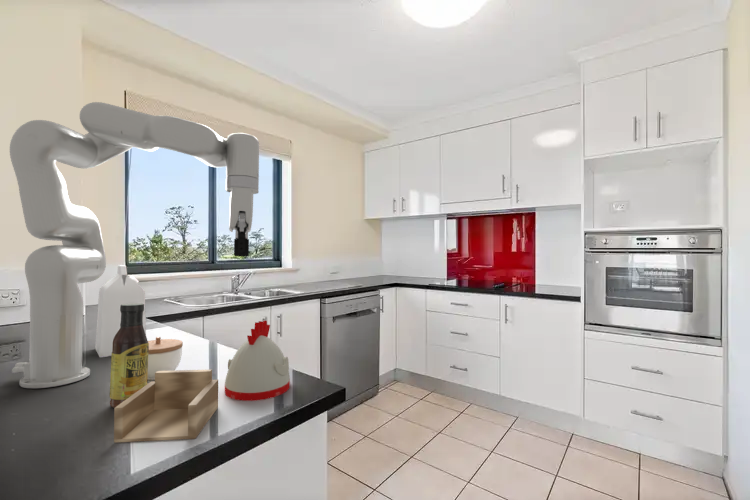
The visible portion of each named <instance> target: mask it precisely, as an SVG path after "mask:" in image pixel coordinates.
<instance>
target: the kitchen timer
mask: <svg viewBox="0 0 750 500" xmlns="http://www.w3.org/2000/svg"><path fill="white" fill-rule="evenodd" d="M270 327H271V325H270V324H268V320H262V321H258V322H254V328H250V333H251V335H247V340H245V341H244V342H243V343H242V344H241V345H240V347H239V348H238V349H237V350H236V352H235V354H234V355H233V357H232V359H230V358H229V359H228V362H227V373H226V376H225V380H224V394H225V397H228V398H229V399H233V400H235V401H236V400H237V401H244V402H245V401H246V402H247V401H251V402H252V401H263V400H267V399H272V398H275V397H278V396H280V395H283V394H285V393H286V392H287V391H288V390H289V389H290V383H291V381H290V380H291V377H290V366H289V365H290V364H289V363H290V362H289V358H288V356H285V355H284V353H283V352H282V350H281V348H280V347H279V345H277V344H276V343H275V342H274V340H272V339H271V338H269V337H268V336H269V332H270Z"/></svg>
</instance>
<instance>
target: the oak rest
mask: <svg viewBox="0 0 750 500" xmlns="http://www.w3.org/2000/svg"><path fill="white" fill-rule="evenodd" d="M218 408H219V379H213V369H183V370H181V369H178V370H177V369H175V370H173V371H157V372H156V373H155V380H154V381H152V380H151V381H150V382H147V385H146V386H144V387H143V388H141V389H140V390H139V391H137V392H136V393H134V394H133V395H132V396H130V397H129V398H128V399H126V400H125V401H123V402H122V403H121V404H119V405H118V406H116V407H115V408H114V409H113V410H114V412H113V413H114V415H113V417H114V418H113V443H116V444H117V443H132V442H133V443H134V442H152V441H153V442H155V441H171V440H172V441H173V440H175V441H176V440H196V439H197V437H198V436H199V434H200V433H201V432H202V431H203V429H204V428H205V427H206V425H207V423H208V422H209V421H210V420H211V418H212V417H213V415H214V414H215V413H216V411H217V409H218Z"/></svg>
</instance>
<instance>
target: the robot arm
mask: <svg viewBox="0 0 750 500" xmlns="http://www.w3.org/2000/svg"><path fill="white" fill-rule="evenodd" d="M79 120H80V124H81V126H82V127H83V129H84V130H85V131H87V132H88V133H86V134H82V133H80V132H79V131H76V130H74V129H71V128H69V127H67V126H64V125H62V124H60V123H56V122H54V121H50V120H43V119H34V120H30V121H27V122H24V124H22V125H20V126H19V127H18V128H17V129H16V130H15V132H14V133H13V135H12V137H11V140H10V143H9V156H10V161H11V165H12V168H13V172H14V174H15V177H16V181H17V185H18V191H19V198H20V202H21V207H22V214H23V217H24V223H25V227H26V230H27V231H28V233H29V234H30V235H31V236H32V237H33V238H36V239H39V240H45V241H56V242H57V241H61V242H62V244H57V245H56V244H53V245H46V246H42V247H39V248H37V249H35V250H33V251H32V252H31V253H30V254H29V255H28V256H27V258H26V261H25V263H24V274H25V277H26V281H27V285H28V287H27V288H28V292H29V351H28V352H29V357H28V359H29V360H28V362H27V361H25V362H23V361H21V362H16V363H15V365H14V367H13V368H12V369H11V373H12V374H21V373H22V374H23V377H21V379H20V380H19V386H20V387H21V388H24V389H46V388H53V387H59V386H64V385H69V384H72V383H75V382H79V381H82V380H83V379H86V378H87V377H90V375H91V369H90V368H89V367H86V366H83V348H84V347H83V339H84V336H83V334H84V329H83V328H84V301H83V296H82V292H81V291H80V288H79V286H78V284H85V283H92V282H93V281H96V280H98V279H99V278H100V277H102V276H103V274H104V272H105V270H106V267H107V257H106V252H105V246H104V240H103V236H102V230H101V225H100V221H99V219H98V218H97V216H96V215H95V213H94V212H93V211H92V210H90V208H87V207H86V206H84V205H80V204H75V203H72V202H71V201H70V197H69V195H68V188H67V182H66V180H65V178H64V176H63V174H62V173H61V171H60V170H59V168H58V166H57V164H56V162H58V163H60V164H65V165H68V166H71V167H74V168H77V169H90V168H95V167H98V166H100V165H102V164H104V163H106V162H108V161H110V160H112V159H113V158H116V157H118V156H120V155H122V154H123V153H126V152H128V151H129V150H132V148H135V149H139V150H143V151H147V152H155V151H156V150H158V149H165V150H170V151H173V152H178V153H181V154H184V155H188V156H192V157H194V158H195V159H197V160H199V161H201V162H202V163H204V164H205V165H206V166H209V167H212V168H224V167H225V169H226V170H225V177H226V178H225V191H226V192H227V193H230V196H229V214H228V215H229V218H228V219H229V220H228V221H229V224H228V226H229V227H228V230H229V232H231V233H234V232H233V231H235V234H234V235H235V238H234V239H233V244H234V245H233V256H234V257H249V255H250V239H249V233H250V232H251V230H252V226H253V225H252V224H253V223H252V222H253V216H254V215H253V213H254V195H257V194H259V190H260V189H259V188H260V187H259V181H260V178H259V177H260V175H259V174H260V172H259V171H260V141H259V139H258V138H257V137H256V136H255V135H252V134H249V133H244V132H235V133H234V132H233V133H230V134H228V135H227V138H225V137H223V136H221V135H219V134H218V133H217V132H216V131H214V130H213V129H212V128H211V127H209V126H207V125H204V124H202V123H198V122H196V121H193V120H188V119H184V118H180V117H176V116H172V115H153V114H148V113H145V112H140V111H136V110H135V109H134V110H133V109H130V108H125V107H123V106H119V105H114V104H111V103H105V102H102V101H100V102H99V101H95V102H94V101H93V102H89V103H87V104H84V106H83V107H82V108H80V112H79Z"/></svg>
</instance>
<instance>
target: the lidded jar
mask: <svg viewBox="0 0 750 500" xmlns="http://www.w3.org/2000/svg"><path fill="white" fill-rule="evenodd" d="M148 343H149V350H148V377H147V381H149V380H151V381H152V380H154V381H155V373H156V372H157V371H173V370H177V368H178V367H179V365H180V362H181V359H182V354H183V341H182V340H180V339H176V338H175V339H172V338H165V339H164V338H161V336H158V337H157V336H156V337H155V339H152V340H148Z"/></svg>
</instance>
